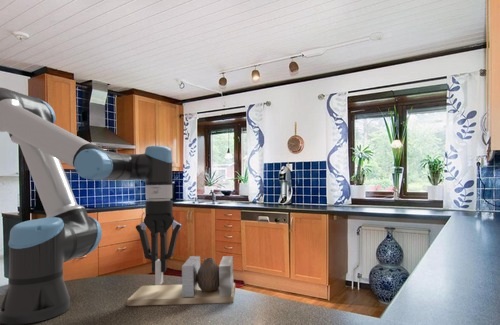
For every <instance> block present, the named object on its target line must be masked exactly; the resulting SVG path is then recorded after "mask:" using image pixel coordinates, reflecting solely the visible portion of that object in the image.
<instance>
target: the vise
mask: <svg viewBox="0 0 500 325" xmlns="http://www.w3.org/2000/svg"><path fill="white" fill-rule="evenodd" d="M218 267H219V288H218V289H217V290H216V291H214V292H203V291H202V290H201V289H200V288H199V287H198V289H197V291H196V293H195V295H194V297H182V284H161V285H141V286H140V287H139V288H138V289H136V291H135V292H134V293H132V294H131V296H130V297H128V298H127V299H126V306H128V307H129V306H130V307H131V306H136V307H137V306H158V305H163V306H165V305H166V306H167V305H193V304H194V305H196V304H197V305H198V304H225V303H226V304H228V303H229V304H231V303H234V300H235V292H236V282H234V256H233V255H225V256H224V255H223V256H222V258H221V260H220V262H219V265H218Z"/></svg>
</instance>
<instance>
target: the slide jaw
mask: <svg viewBox="0 0 500 325" xmlns="http://www.w3.org/2000/svg"><path fill="white" fill-rule="evenodd" d="M200 267H201V256H200V255H192V256H191V255H190V256H189V257H188V258H187V259H186V261H185V262H184V263H183V264H182V266H181V281H182V282H181V285H182V297H194V295H195V293H196V291H197V289H198V287H199V286H198V283H197V273H198V270H199V268H200Z"/></svg>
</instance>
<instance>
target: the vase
mask: <svg viewBox="0 0 500 325" xmlns="http://www.w3.org/2000/svg"><path fill="white" fill-rule="evenodd" d="M202 262H203V263H202V264H200V268H199V270H198V273H197V283H198V286H199V288H200V289H201V290H202V291H203V292H214V291H216V290H217V289H218V288H219V265H218V264H217V263H216V261H215V260H214V257H206V258H204V260H203V261H202Z"/></svg>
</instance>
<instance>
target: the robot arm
mask: <svg viewBox="0 0 500 325" xmlns="http://www.w3.org/2000/svg"><path fill="white" fill-rule="evenodd" d="M56 120H57V117H56V113H55V110H54V108H53V107H52V106H51V105H50V104H49V103H48V102H46V101H44V100H42V99H40V98H38V97H36V96H33V95H26V94H24V93H21V92H19V91H18V92H17V91H15V90H11V89H8V88H4V87H0V132H1V133H2V132H3V133H4V132H6V133H8V135H9V137H10V140H11V141H12V142H11V143H14V144H16V145H19V147H20V149H21V153H22V155H23V157H24V161H25V163H26V165H27V168H28V170H29V173H30V176H31V179H32V181H33V183H34V185H35V188H36V189H35V190H36V192H37V193H38V197H39V199H40V201H41V204H42V206H43V209H44V212H45V214H46V217H41V218H37V219H30V220H25V221H21V222H19V223H17V224H15V225H13V227H12V228H10V231H9V239H8V242H7V244H8V287H7V289H6V290H7V291H6V293H5V295H4V299H3V301H2V303H1V306H0V324H2V325H28V324H33V323H39V322H42V321H46V320H50V319H52V318H56V317H57V316H60V315H62V314H64V313H65V312H67V311H68V310H69V309H70V308H71V296H70V293H69V291H68V288H67V285H66V282H65V280H64V263H66V262H69V261H71V260H74V259H77V258H78V259H79V258H83V257H85V256H86V255H88V254H91V253H92V252H94V251H95V250H96V249H97V248H98V246H99V244H100V242H101V240H102V236H103V234H102V232H103V231H102V226H101V224H100V222H99V221H98V220H97V219H96V218H93V217H92V216H91V215H90V216H89V215H88V211H87V209H86V207H85V206H82V205H80V204H78V203H77V200H76V197H75V195H74V192H73V190H72V187H71V184H70V181H69V179H68V177H67V175H66V172H65V169H64V166H63V165H62V162H63V163H64V164H66V165H68V166H70V167H72V168H74V169H75V171H76V173H77V174H78V176H80V177H81V178H83V179H86V180H90V181H102V180H103V181H104V180H105V181H106V180H107V181H109V180H111V181H117V182H118V181H120V182H121V181H132V180H133V181H136V180H138V181H139V180H142V181H143V180H145V183H144V184H145V187H144V188H145V194H144V195H145V200H146V201H145V202H144V203H145V206H144V207H145V208H144V210H145V213H144V214H145V215H144V216H145V217H144V219H143V221H142V222H141V223H139V224H136V226H135V229H136V231H137V233H138V234H139V238H140V241H141V246H142V249H143V250H142V251H143V255H144V259H146V260H150V261H151V272H152V273H154V274H155V275H154V276H155V277H154V278H155V279H154V281H155V282H154V284H155V285H163V283H164V273H165V272H166V271H167V260H168V259H171V258H172V257H173V256H174V252H175V249H176V244H177V240H178V235H179V231H181V229H182V227H183V223H181V222H180V223H179V222H177V220H175V217H174V216H173V212H174V211H173V208H174V207H173V201H172V200H171V199H173V163H174V162H173V153H172V149H171V147H169V146H166V145H150V146H146V147H145V150H144V151H145V152H144V153H140V154H139V153H137V154H136V153H135V154H133V153H132V154H127V153H121V152H116V151H115V152H114V151H109V150H108V151H107V150H105V149H103V148H101V147H99V146H97V145H95V144H94V143H91V142H89V141H87V140H85V139H84V138H82V137H80V136H77V135H76V134H74V133H72V132H70V131H68V130H66V129H64V128H62V127H61V126H58V125H57V124H56V123H55V122H57V121H56ZM171 227H172V232H171V235H170V236H171V237H170V242H169V245H168V242H167V241H168V240H167V238H168V231H169V229H171ZM147 228H148V230H149V231H150V239H151V240H150V241H149V238H148V234H147ZM159 237H160V243H159ZM150 244H151V245H150ZM159 244H160V246H159ZM159 247H160V251H159ZM167 247H168V248H167ZM159 252H160V255H159ZM159 257H160V258H159Z"/></svg>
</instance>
